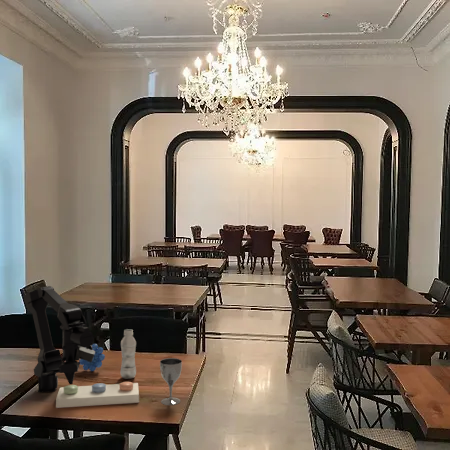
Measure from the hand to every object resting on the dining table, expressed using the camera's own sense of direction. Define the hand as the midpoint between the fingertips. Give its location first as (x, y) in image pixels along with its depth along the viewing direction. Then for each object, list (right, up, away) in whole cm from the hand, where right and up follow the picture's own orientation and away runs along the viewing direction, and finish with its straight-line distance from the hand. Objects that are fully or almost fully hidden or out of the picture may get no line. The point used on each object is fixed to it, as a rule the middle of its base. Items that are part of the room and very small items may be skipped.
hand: (71, 384), depth 187 cm
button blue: (+10, -6, +2) cm, 11 cm away
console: (+10, -6, +2) cm, 12 cm away
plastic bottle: (+16, -6, +25) cm, 30 cm away
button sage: (0, -6, 0) cm, 6 cm away
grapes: (-1, -5, +34) cm, 34 cm away
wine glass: (+37, -7, +1) cm, 37 cm away
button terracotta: (+19, -6, +4) cm, 21 cm away
